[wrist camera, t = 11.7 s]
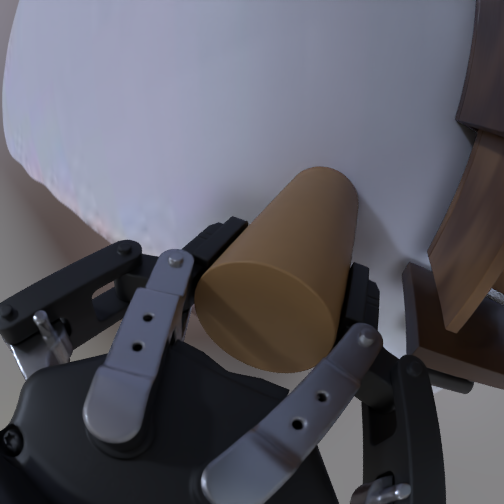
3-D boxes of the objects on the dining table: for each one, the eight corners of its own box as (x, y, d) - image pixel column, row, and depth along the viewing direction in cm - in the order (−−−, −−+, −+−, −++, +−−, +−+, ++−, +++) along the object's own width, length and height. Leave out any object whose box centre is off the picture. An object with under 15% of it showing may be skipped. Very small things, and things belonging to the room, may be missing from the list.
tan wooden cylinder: (279, 221, 20) (191, 339, 11) (296, 156, 18) (197, 236, 8) (344, 245, 19) (305, 388, 10) (368, 181, 17) (363, 301, 7)
